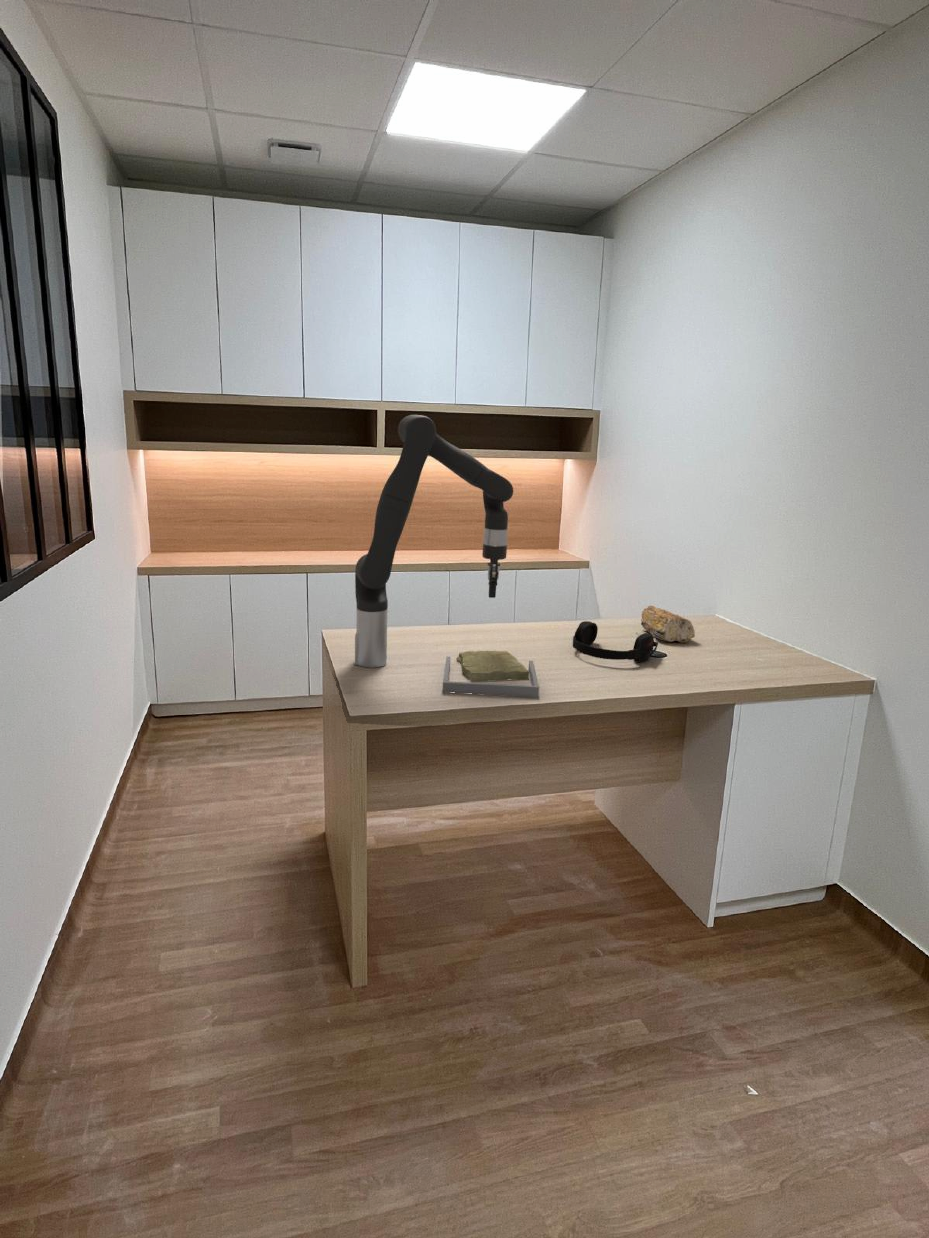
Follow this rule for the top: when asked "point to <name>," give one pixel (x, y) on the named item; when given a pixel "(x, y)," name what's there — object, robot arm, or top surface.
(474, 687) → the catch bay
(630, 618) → the top surface
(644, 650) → the headset
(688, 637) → the petrified wood
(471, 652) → the decorative tile
